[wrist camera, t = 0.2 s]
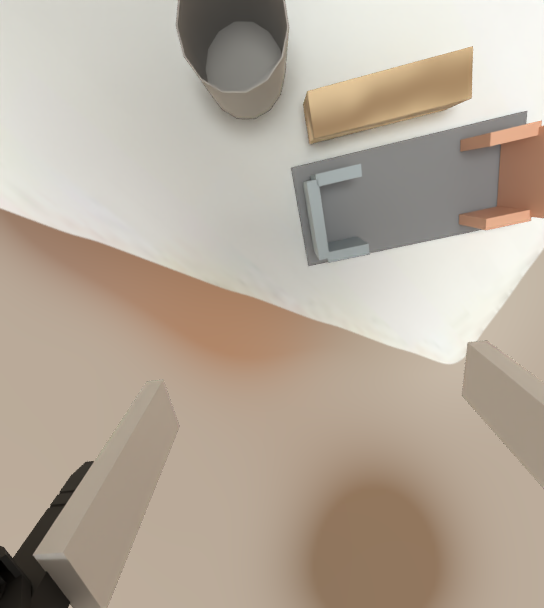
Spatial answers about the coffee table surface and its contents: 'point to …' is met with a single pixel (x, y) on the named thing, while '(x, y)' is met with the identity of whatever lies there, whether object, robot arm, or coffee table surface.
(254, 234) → the coffee table surface
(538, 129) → the endcap
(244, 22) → the cup
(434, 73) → the tan wooden block
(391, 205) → the seat
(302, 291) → the coffee table surface
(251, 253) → the coffee table surface
